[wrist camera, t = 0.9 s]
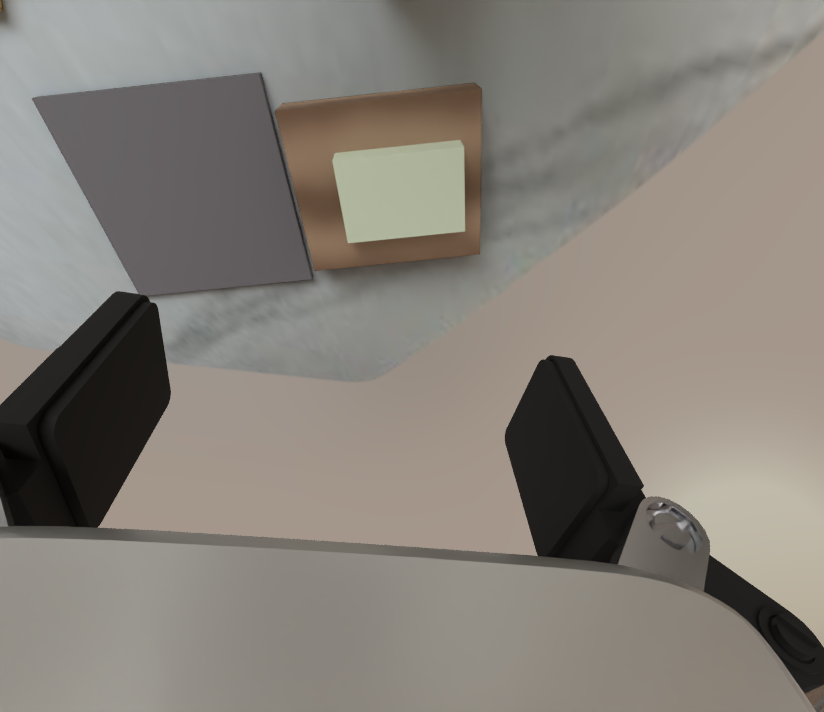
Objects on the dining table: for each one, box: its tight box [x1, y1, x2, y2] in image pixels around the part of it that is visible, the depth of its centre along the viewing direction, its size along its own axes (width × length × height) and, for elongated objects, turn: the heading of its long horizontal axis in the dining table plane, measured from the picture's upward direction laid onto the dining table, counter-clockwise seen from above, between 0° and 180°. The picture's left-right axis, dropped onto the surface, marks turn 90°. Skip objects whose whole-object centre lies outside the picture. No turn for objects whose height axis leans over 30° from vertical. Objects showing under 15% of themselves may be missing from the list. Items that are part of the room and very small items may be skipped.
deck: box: [275, 83, 482, 271], centre depth 34 cm, size 12×14×3 cm
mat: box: [32, 73, 313, 296], centre depth 36 cm, size 16×16×1 cm
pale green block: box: [332, 140, 465, 243], centre depth 32 cm, size 9×6×2 cm, turn 95°
